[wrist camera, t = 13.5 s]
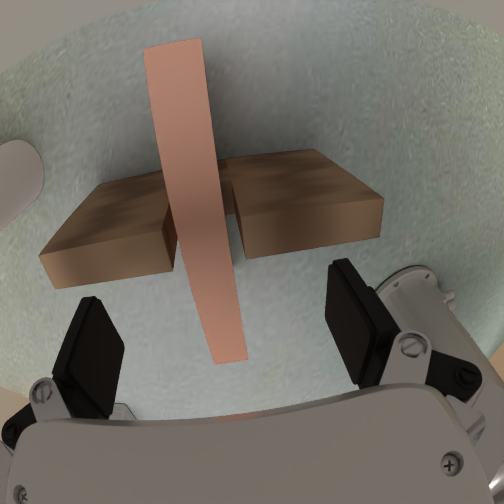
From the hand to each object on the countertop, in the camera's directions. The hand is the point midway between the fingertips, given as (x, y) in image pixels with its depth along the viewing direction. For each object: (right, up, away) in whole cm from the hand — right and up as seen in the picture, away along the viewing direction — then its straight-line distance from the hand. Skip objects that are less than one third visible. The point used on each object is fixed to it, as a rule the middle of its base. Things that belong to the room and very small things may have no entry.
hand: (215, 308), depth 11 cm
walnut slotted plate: (-3, +9, +14) cm, 17 cm away
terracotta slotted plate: (-3, +9, +14) cm, 17 cm away
